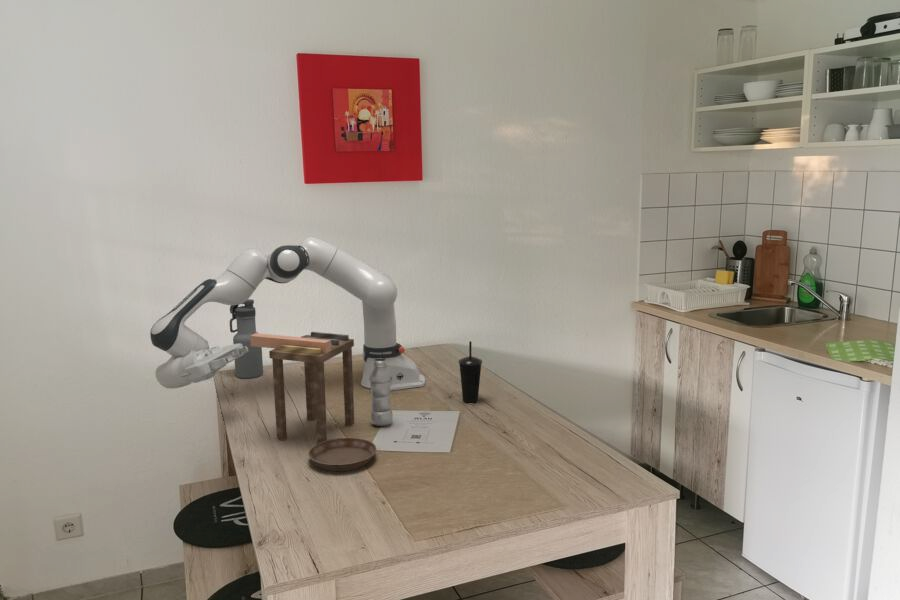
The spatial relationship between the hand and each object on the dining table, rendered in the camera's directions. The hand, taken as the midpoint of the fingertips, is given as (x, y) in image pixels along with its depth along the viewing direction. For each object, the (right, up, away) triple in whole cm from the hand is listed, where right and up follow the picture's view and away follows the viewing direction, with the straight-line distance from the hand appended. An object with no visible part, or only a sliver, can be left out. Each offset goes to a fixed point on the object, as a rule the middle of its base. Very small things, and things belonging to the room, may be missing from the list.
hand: (236, 354), depth 204 cm
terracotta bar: (+17, +2, -7) cm, 19 cm away
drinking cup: (+68, -17, +26) cm, 75 cm away
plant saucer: (+34, -27, -18) cm, 46 cm away
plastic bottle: (+41, -21, +6) cm, 47 cm away
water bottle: (-12, -12, +55) cm, 57 cm away
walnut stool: (+23, -22, +1) cm, 32 cm away
